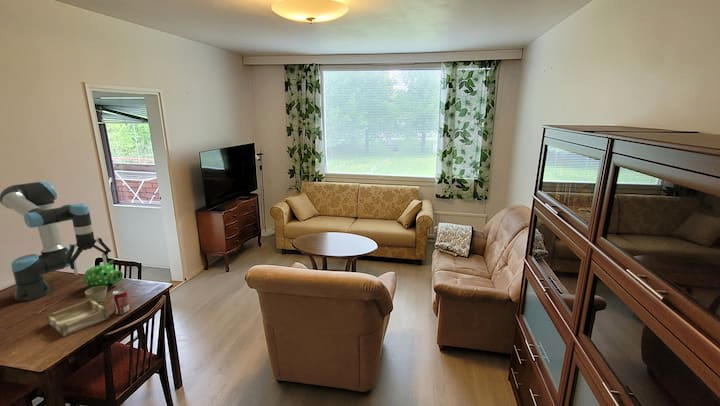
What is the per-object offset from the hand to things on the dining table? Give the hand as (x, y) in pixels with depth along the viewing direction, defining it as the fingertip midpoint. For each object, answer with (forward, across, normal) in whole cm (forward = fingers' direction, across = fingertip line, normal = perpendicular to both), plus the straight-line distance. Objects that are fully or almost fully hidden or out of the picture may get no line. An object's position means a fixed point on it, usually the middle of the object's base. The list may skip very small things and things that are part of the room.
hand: (91, 269), depth 187 cm
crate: (+21, -12, -11) cm, 27 cm away
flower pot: (+21, +1, +3) cm, 22 cm away
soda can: (+21, +4, -20) cm, 29 cm away
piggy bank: (+21, +11, +20) cm, 32 cm away
